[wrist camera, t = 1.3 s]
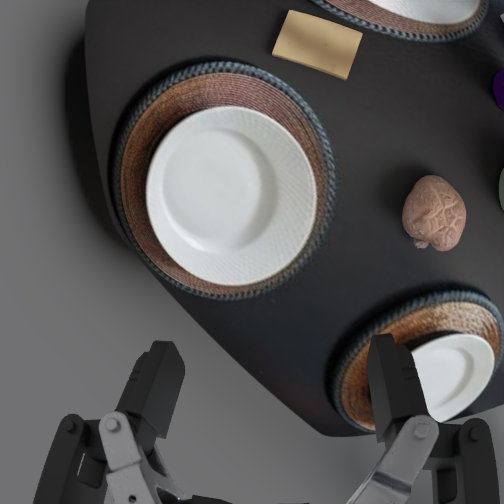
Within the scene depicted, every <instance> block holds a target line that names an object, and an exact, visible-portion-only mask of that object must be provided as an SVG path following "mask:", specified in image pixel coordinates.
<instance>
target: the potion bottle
mask: <svg viewBox="0 0 504 504" xmlns="http://www.w3.org/2000/svg"><path fill="white" fill-rule="evenodd" d="M490 90H491V92H492V94H493V97H494V99H495V102H496V105H497V107H499V108H500V109H501V110H502V111H504V69H502V70H501V71H500V72H499V73H498V74H496V75H493V77H492V83H491V89H490Z"/></svg>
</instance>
